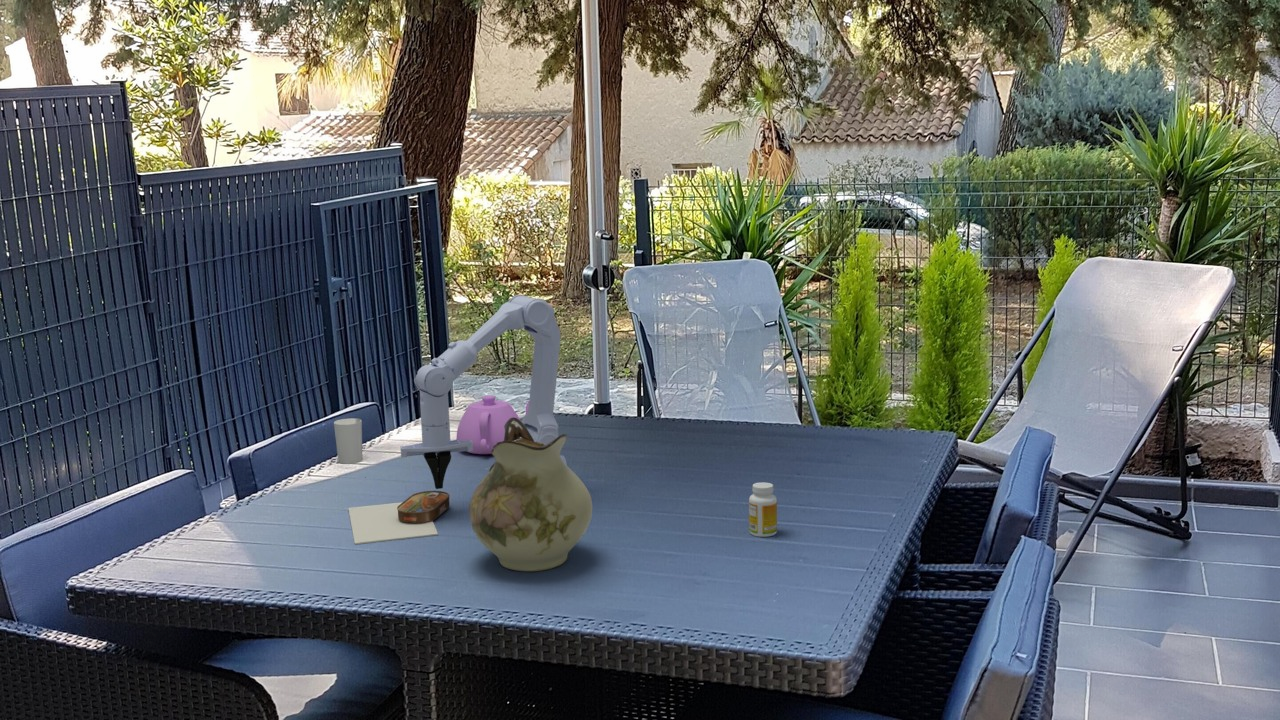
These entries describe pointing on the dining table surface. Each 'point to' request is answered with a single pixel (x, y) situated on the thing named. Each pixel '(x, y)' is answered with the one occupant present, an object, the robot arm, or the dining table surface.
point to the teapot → (485, 423)
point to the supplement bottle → (762, 510)
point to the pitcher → (529, 503)
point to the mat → (385, 524)
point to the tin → (423, 506)
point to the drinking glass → (348, 440)
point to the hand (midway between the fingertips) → (438, 487)
